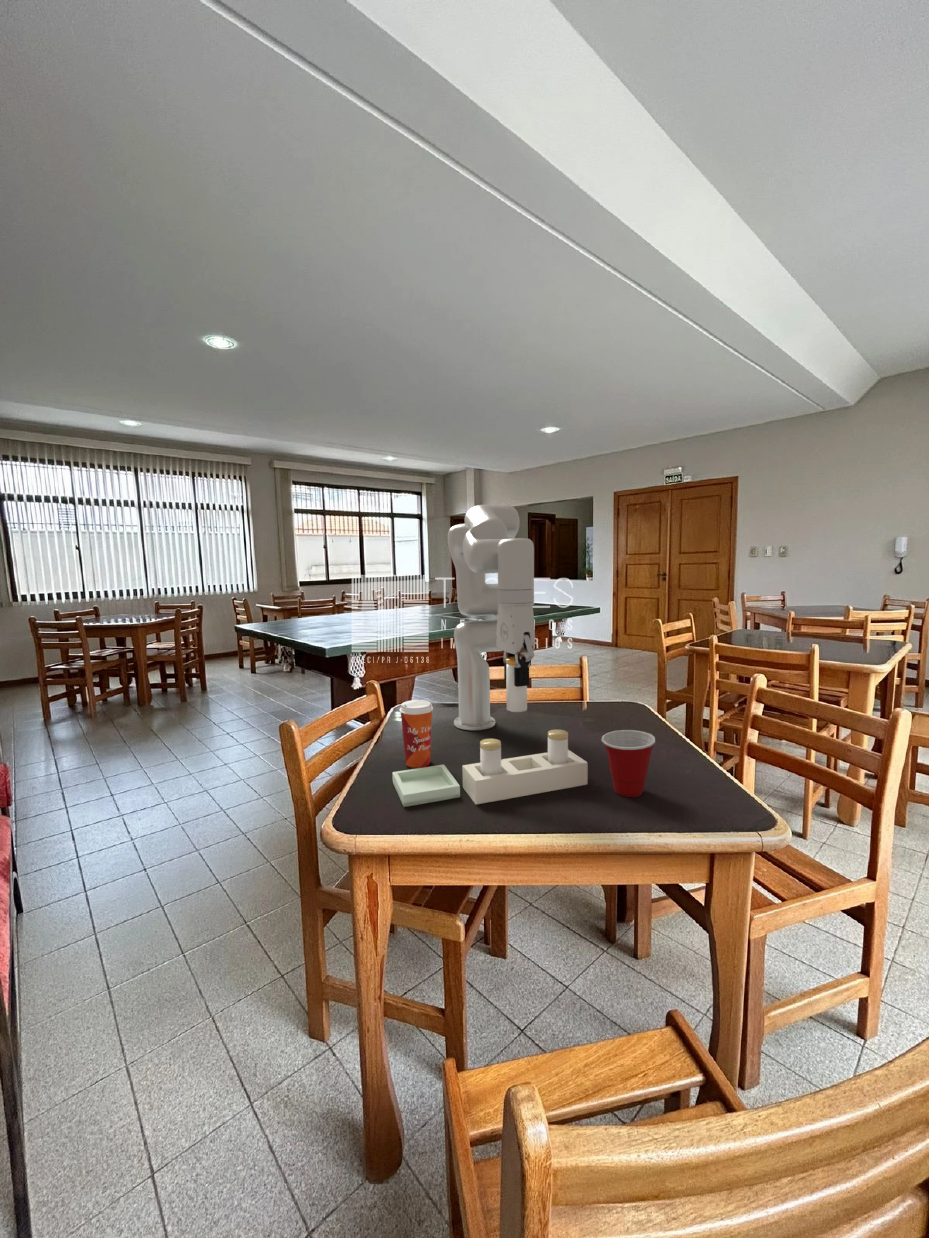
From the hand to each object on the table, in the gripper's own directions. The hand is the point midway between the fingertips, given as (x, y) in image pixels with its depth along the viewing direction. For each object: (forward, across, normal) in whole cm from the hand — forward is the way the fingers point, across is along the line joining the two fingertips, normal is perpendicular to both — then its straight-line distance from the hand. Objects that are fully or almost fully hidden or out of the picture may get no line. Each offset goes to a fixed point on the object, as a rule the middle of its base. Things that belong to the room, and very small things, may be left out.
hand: (516, 682), depth 107 cm
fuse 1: (+23, 0, -6) cm, 24 cm away
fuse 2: (+23, +1, +10) cm, 25 cm away
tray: (+23, -6, -19) cm, 31 cm away
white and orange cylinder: (+6, 0, 0) cm, 6 cm away
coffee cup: (+23, -21, -17) cm, 36 cm away
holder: (+23, +1, +2) cm, 23 cm away
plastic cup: (+23, +11, +20) cm, 33 cm away
